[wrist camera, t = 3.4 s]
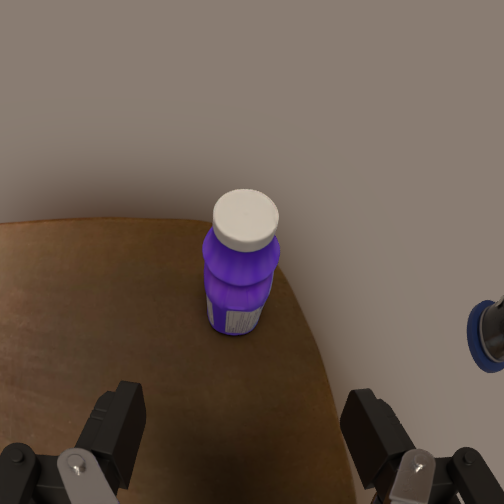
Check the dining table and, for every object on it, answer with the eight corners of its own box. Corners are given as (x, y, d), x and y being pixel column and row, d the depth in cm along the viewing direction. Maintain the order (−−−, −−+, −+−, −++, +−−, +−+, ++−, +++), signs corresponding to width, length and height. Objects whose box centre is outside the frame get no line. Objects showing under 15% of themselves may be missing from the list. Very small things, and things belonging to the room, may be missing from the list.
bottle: (257, 341, 31) (295, 267, 16) (205, 337, 31) (191, 259, 16) (259, 280, 35) (290, 173, 20) (211, 277, 35) (208, 166, 20)
